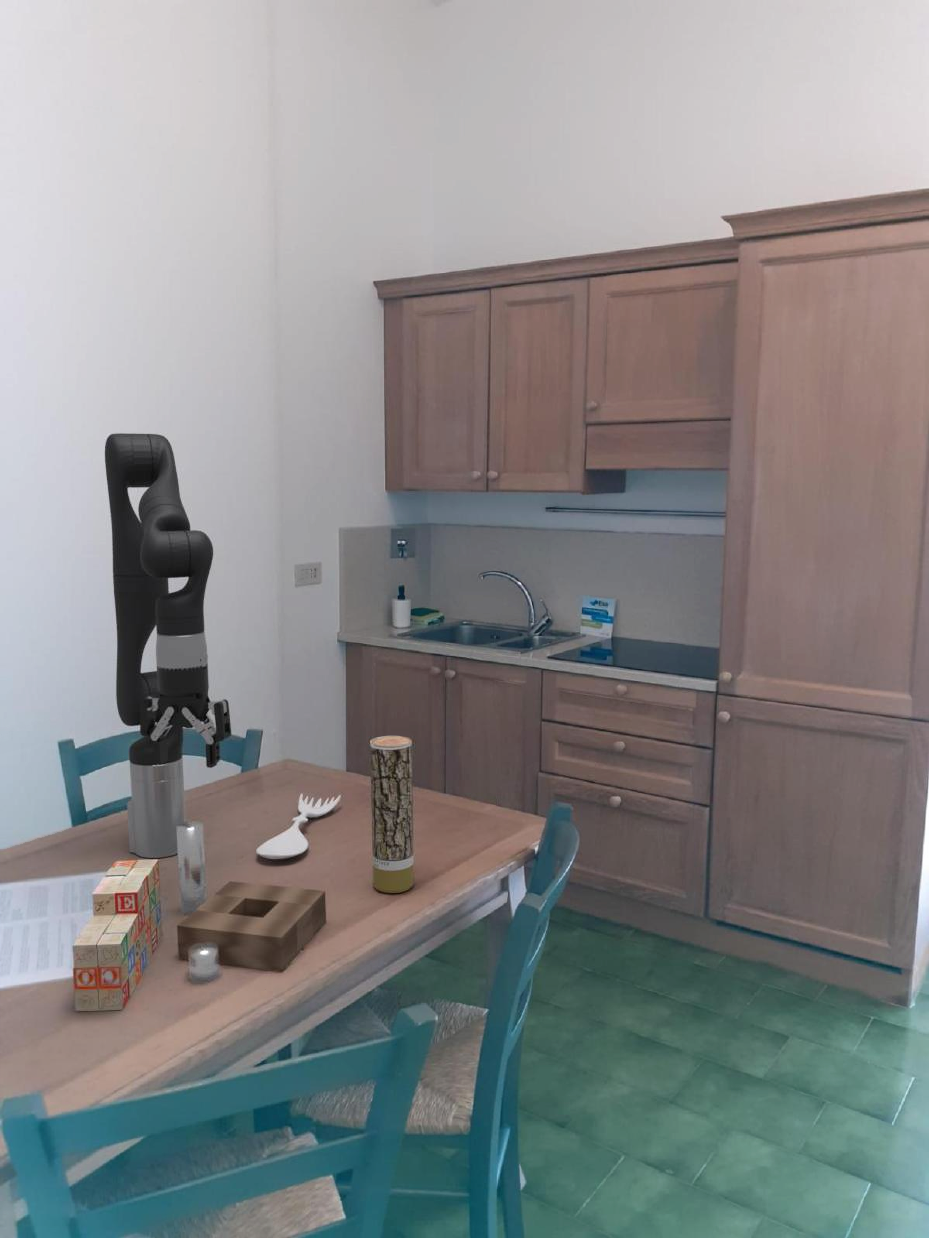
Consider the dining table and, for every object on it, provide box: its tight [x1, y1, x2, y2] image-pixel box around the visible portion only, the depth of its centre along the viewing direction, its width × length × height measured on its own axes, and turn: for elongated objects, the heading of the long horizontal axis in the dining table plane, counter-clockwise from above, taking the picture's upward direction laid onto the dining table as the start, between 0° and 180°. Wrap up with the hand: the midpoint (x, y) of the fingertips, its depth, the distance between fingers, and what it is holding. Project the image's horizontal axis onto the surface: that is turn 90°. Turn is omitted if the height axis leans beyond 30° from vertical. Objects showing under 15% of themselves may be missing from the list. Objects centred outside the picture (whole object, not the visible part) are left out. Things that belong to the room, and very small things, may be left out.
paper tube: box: [369, 735, 415, 894], centre depth 165 cm, size 7×7×25 cm
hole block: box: [176, 880, 327, 972], centre depth 148 cm, size 16×16×5 cm
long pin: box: [176, 820, 207, 917], centre depth 157 cm, size 4×4×14 cm
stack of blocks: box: [72, 858, 164, 1012], centre depth 138 cm, size 21×6×12 cm, turn 4°
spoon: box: [255, 793, 342, 860], centre depth 191 cm, size 9×32×4 cm, turn 173°
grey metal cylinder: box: [188, 942, 221, 984], centre depth 137 cm, size 4×4×4 cm
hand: (187, 764), depth 155 cm, fingers open, 8 cm apart
